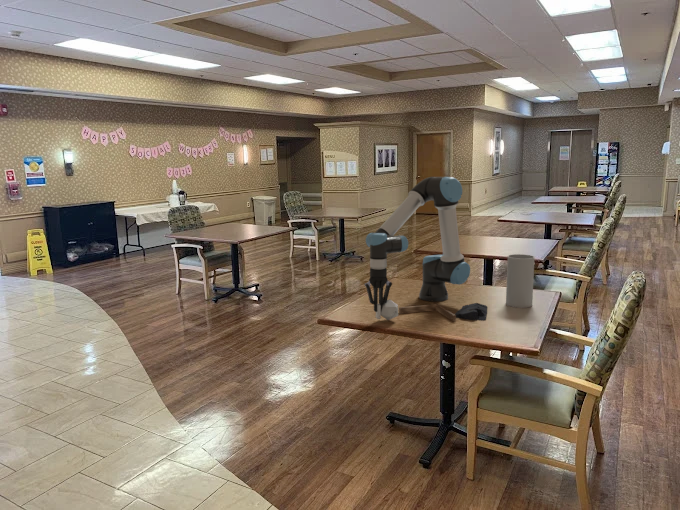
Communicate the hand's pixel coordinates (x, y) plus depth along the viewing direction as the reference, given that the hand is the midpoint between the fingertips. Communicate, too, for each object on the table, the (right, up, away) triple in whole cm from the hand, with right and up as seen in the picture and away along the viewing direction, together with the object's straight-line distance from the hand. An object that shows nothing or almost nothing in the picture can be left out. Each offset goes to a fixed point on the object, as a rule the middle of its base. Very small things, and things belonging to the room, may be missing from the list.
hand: (378, 318), depth 237 cm
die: (+5, -1, +1) cm, 5 cm away
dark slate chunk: (+46, 0, +10) cm, 47 cm away
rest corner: (+23, 0, +6) cm, 24 cm away
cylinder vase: (+72, +3, +23) cm, 76 cm away
